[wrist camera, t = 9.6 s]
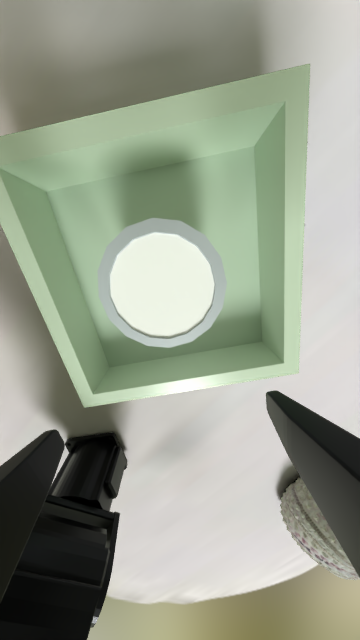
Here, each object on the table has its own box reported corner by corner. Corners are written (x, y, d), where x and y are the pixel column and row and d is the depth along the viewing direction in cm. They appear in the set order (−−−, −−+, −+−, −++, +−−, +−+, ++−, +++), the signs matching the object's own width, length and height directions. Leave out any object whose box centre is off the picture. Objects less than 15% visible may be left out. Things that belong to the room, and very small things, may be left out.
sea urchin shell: (324, 522, 31) (372, 607, 23) (257, 504, 29) (285, 591, 22) (380, 474, 27) (459, 558, 20) (306, 450, 25) (362, 533, 18)
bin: (105, 373, 20) (84, 407, 16) (33, 181, 15) (-36, 144, 10) (269, 345, 20) (298, 373, 15) (264, 130, 14) (310, 63, 9)
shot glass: (193, 322, 18) (202, 361, 11) (123, 302, 17) (87, 331, 10) (218, 249, 15) (248, 242, 9) (139, 223, 15) (107, 195, 8)
